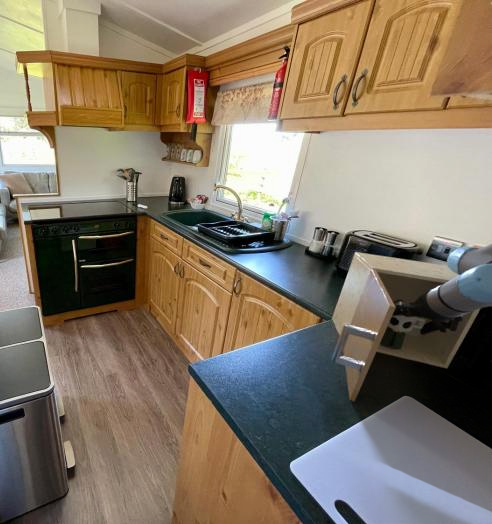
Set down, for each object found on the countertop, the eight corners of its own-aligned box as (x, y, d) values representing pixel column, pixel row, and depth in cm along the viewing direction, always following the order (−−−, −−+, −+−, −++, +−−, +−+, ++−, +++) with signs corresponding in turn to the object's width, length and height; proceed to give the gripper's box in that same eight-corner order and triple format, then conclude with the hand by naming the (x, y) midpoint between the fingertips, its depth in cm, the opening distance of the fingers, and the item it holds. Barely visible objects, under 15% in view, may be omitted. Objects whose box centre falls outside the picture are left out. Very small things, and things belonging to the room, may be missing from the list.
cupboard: (447, 368, 83) (492, 287, 73) (343, 344, 91) (372, 267, 81) (419, 338, 97) (454, 266, 88) (331, 319, 105) (355, 251, 95)
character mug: (367, 343, 90) (382, 306, 86) (366, 332, 96) (380, 298, 91) (412, 357, 85) (431, 319, 80) (408, 346, 90) (426, 310, 86)
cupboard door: (321, 389, 71) (356, 297, 62) (321, 338, 93) (346, 263, 84) (354, 401, 68) (395, 307, 59) (346, 345, 90) (375, 269, 80)
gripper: (508, 300, 68) (444, 322, 87) (382, 278, 76) (348, 304, 94) (514, 330, 65) (446, 347, 84) (383, 305, 73) (347, 326, 92)
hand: (394, 324), depth 89 cm, fingers open, 13 cm apart
